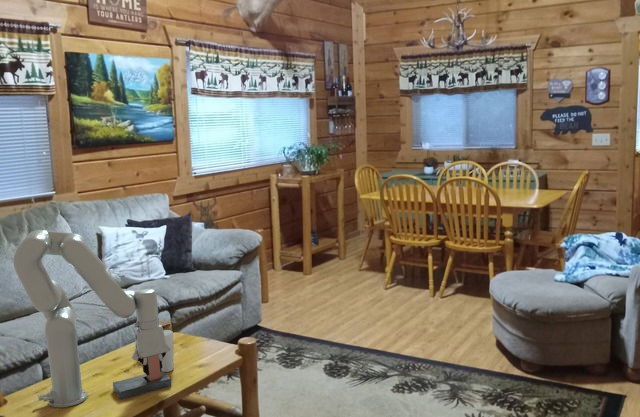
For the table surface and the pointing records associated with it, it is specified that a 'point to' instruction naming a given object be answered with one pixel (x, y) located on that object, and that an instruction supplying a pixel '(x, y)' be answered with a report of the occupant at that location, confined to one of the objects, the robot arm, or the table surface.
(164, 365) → the drinking glass
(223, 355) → the table surface
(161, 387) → the square hole plate
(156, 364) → the square peg
